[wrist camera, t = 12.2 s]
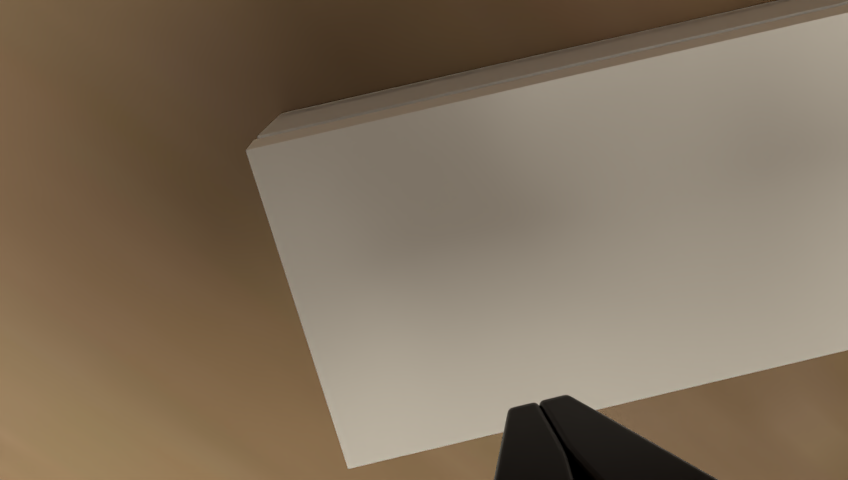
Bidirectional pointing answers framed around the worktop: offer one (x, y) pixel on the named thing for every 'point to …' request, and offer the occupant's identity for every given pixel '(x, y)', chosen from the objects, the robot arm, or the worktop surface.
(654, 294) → the lid
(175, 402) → the worktop surface
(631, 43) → the cable tray
